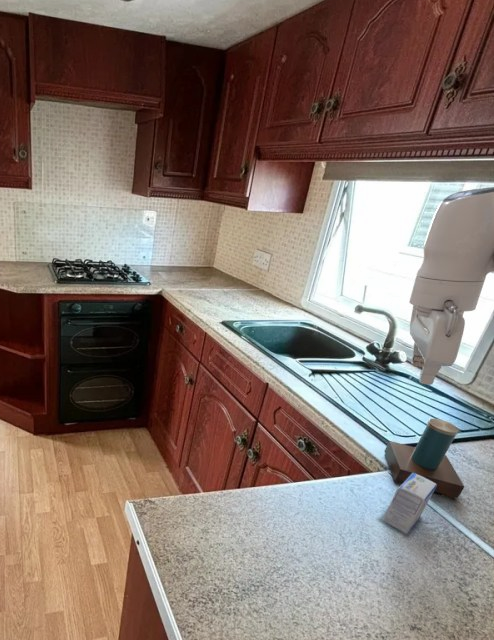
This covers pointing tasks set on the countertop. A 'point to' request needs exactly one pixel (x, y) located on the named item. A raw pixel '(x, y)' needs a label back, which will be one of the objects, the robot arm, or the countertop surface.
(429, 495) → the medicine box
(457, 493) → the walnut platform
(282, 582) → the countertop surface
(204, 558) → the countertop surface
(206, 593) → the countertop surface
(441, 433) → the teal canister
